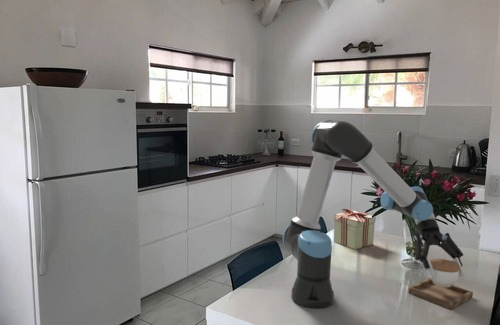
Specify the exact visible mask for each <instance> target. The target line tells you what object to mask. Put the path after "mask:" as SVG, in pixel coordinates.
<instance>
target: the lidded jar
mask: <svg viewBox="0 0 500 325" xmlns="http://www.w3.org/2000/svg"><path fill="white" fill-rule="evenodd" d="M429 259H430V262H431V264H432V267H433V269H434V272H435V275H436V276H435V277H433V278H431V280H432V281H433V283H434V284H435V285H437V286H440V287H451V285H455V283H456V282H457V281H458V279H459V270H460V266H459V265H458V264H457V263H455V262H453V261H452V260H449V259H445V258H429ZM427 274H428V273H427ZM428 277H429V278H430V276H429V274H428Z"/></svg>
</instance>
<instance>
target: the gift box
mask: <svg viewBox="0 0 500 325" xmlns="http://www.w3.org/2000/svg"><path fill="white" fill-rule="evenodd" d="M341 211H344V212H340V213H334V215H333V221H334V228H333V242H334V243H336V244H338V245H341V246H344V247H347V248H350V249H352V250H358V249H362V248H365V247H369V246H372V245H374V237H375V223H376V218H377V217H376V216H374V217H373V218H372V216H373V215H371V214H369V213H367V212H360V211H357V210H352V209H349V208H348V209H347V208H342V210H341Z"/></svg>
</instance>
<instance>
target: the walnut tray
mask: <svg viewBox="0 0 500 325" xmlns="http://www.w3.org/2000/svg"><path fill="white" fill-rule="evenodd" d="M408 294H411V295H413V296H416V297H418V298H421V299H423V300H426V301H428V302H430V303H433V304H436V305H439V306H441V307H444V308H445V309H448V310H451V311H452V310H455V309H456V308H458V307H459V306H461V305H463V304H464V303H466V302H467V301H469V300H472V299H473V294H474V291H471V290H468V289H466V288H463V287H460V286H458V285H455V284H453V285H451V287H440V286H437V285H435V284H434V283H433V281H432V280H431V279H430V277H429V278H428V277H427V278H426V279H425V280H422V281H420V282H418V283H416V284H413V285H411V286H409V287H408Z"/></svg>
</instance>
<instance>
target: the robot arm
mask: <svg viewBox="0 0 500 325" xmlns="http://www.w3.org/2000/svg"><path fill="white" fill-rule="evenodd" d="M310 138H311V141H312V146H311V151H310V152H311V154H312V156H313V158H312V162H311V164H310V169H309V172H308V175H307V179H306V182H305V185H304V188H303V189H304V190H303V193H302V197H301V200H300V203H299V208H298V210H297V215H296V216H293V217H292V218H291V220H290V223H289V225H288V226H286V228H284V231H283V234H282V241H283V244H284V247H285V249H286V251H287V252H289V254H291V255H292V257H294V258H295V260H296V261H297V269H296V271H297V272H296V278H295V281H294V283H293V285H292V289H291V299H292V301H293V302H294V303H296V304H298V305H300V306H302V307H305V308H312V309H323V308H326V307H330V306H332V305H333V304H334V302H335V292H334V290H333V286H332V282H331V269H332V268H331V267H332V252H333V246H332V244H333V243H332V242H333V241H332V239H331V237H330V236H329V235H328V234H327V233H325V232H321V230H322V229H321V228H322V227H321V224H320V223H319V221H320V217H321V214H322V211H323V208H324V204H325V200H326V197H327V193H328V190H329V188H330V184H331V183H330V182H331V180H332V177H333V172H334V169H335V166H336V164H337V162H339V161H341V160H342V156H343V157H344V158H346V159H348V160H349V161H350V162H351V163H352V164H356V165H358V166H359V168H360V169H362V170H363V171H364V173H366V174H367V175H368V176H369V177H370V178H371V180H373V181H374V182H375V183H376V184H377V185H378V186H379V187H380V188H381V189H382V190H383V192H382V194H381V196H380V205H381V207H382V209H384V210H388V211H389V210H390V211H397V212H398V213H400V214H404V215H406V216H408V217H411V218H412V219H413V220H414V221H415V225H416V228H417V230H418V232H419V233H416V234H415V235H414V236H413V240H414V242H415V244H414V246H415V259H416V261H419V262H420V263H422V264H423V268H424V269H425V270H427V274H429V275H428V277H429V276H430V277H429V278H430V279H431V278H433V277H435V276H436V275H435V272H434V269H433V267H432V264H431V262H430V259H431V258H428V255H429V251H430V246H437V247H439V248H441V249H442V251H444V252H445V253H446V254H448V256H450V257H451V259H452V260H451V261H453V262H455V263H457V264H458V265H459V266H460V270H459V276H458V278H462V277H463V276H464V275H466V273H465V271H464V269H463V262H462V261H461V258H462V257H463V256H464V253H463V252H462V250H461V249H460V248H459V246H457V244H456V242H454V240H453V239H452V238H451V235H450V233H449V232H446V233H442V232H441V230H440V226H439V224H438V221H437V219H436V217H435V213H434V207H433V205H432V203H431V202H430V201H429V200H428V197H427V195H426V193H425V191H424V189H423V188H422V187H421V186H409V184H407V182H405V181H404V179H402V177H401V176H400V175H399V174H398V173H397V172H396V171H395V170H394V169H393V168H392V167H391V165H389V163H387V162H386V161H385V160H384V158H382V156H380V155H379V154H378V152H376V150H375V149H374V144H373V143H372V142H371V141H370V140H369V139H368V138H367V137H366V136H365V134H363V132H361V130H359V129H358V128H357V127H356V126H355V125H354V124H352V123H351V122H348V121H343V120H331V119H330V120H329V119H328V120H324V121H320V122H319V123H317V124H316V125H315V126H314V128H313V129H312V132H311V137H310ZM422 240H423V241H424V243H423V247H422ZM422 248H423V249H422Z"/></svg>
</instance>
